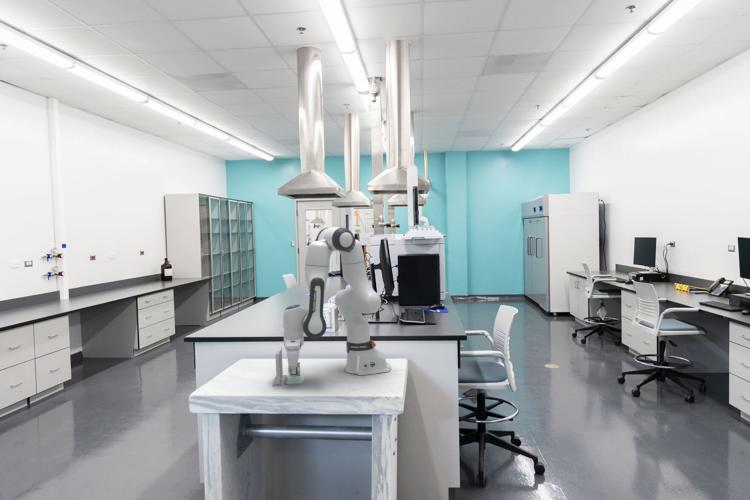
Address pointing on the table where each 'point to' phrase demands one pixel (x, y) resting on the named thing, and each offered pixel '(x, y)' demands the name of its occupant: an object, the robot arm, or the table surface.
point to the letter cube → (296, 371)
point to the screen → (279, 369)
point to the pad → (295, 380)
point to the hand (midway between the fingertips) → (294, 371)
